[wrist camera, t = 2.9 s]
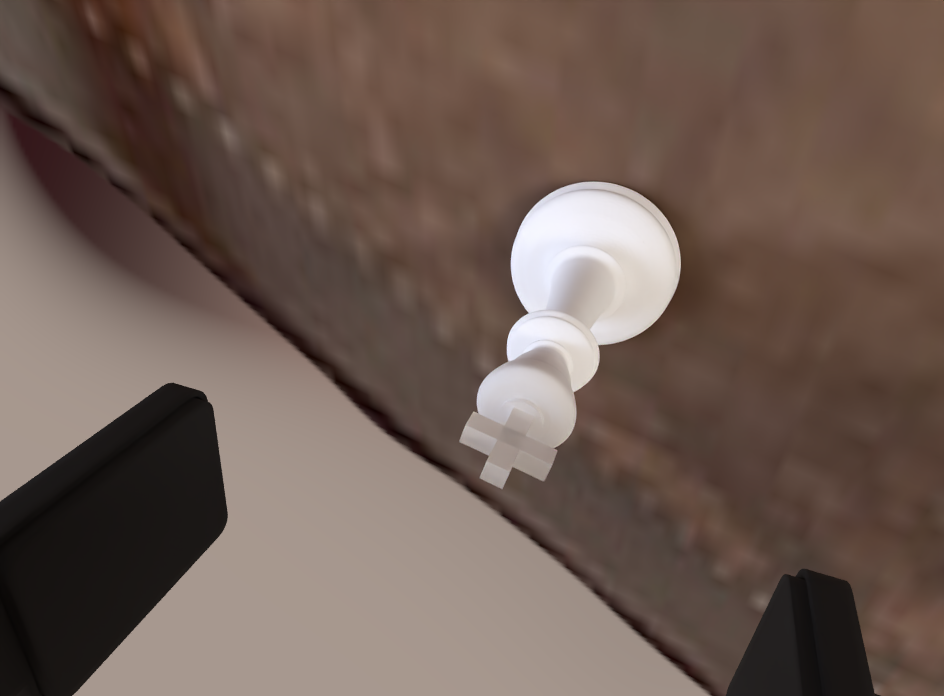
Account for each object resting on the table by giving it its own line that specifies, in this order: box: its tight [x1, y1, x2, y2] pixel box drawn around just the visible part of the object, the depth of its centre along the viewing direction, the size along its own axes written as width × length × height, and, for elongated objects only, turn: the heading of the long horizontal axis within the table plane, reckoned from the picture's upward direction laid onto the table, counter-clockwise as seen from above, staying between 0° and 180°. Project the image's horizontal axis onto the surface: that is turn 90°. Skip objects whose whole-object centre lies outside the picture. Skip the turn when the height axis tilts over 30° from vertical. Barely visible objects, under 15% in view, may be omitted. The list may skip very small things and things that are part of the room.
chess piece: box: [459, 182, 681, 489], centre depth 15 cm, size 5×5×10 cm
